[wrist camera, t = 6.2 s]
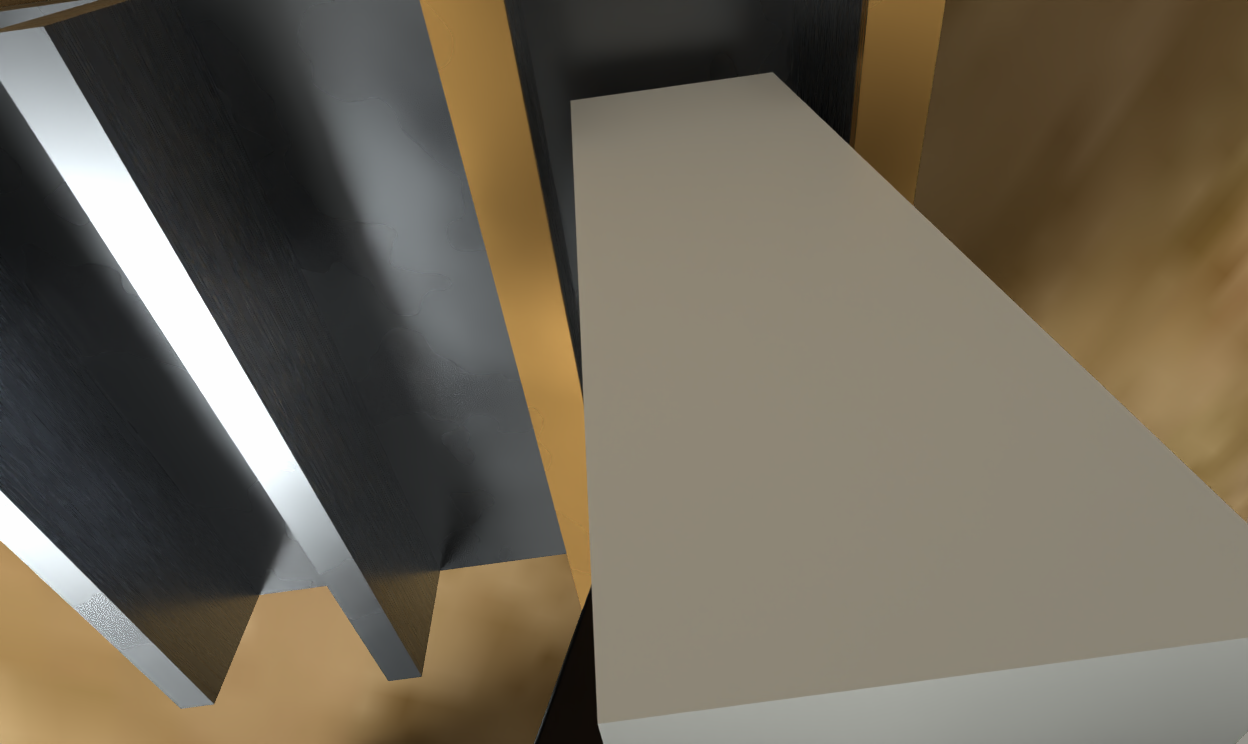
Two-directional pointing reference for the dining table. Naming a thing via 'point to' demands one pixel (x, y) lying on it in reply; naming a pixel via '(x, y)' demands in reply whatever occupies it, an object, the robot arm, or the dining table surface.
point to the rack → (335, 286)
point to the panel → (862, 466)
